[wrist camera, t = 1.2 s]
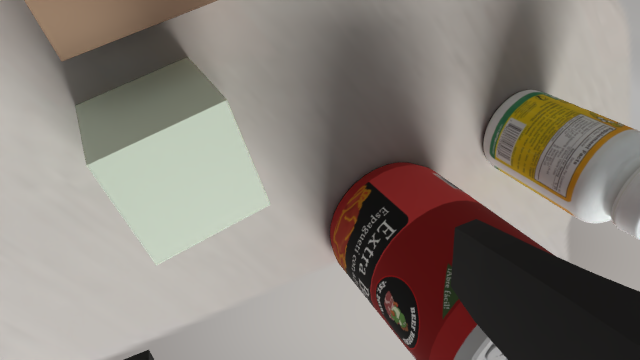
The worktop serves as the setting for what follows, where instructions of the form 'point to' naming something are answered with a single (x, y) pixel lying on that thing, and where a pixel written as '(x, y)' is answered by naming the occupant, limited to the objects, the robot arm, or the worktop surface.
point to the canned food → (413, 257)
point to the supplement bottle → (569, 157)
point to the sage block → (170, 158)
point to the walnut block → (101, 20)
